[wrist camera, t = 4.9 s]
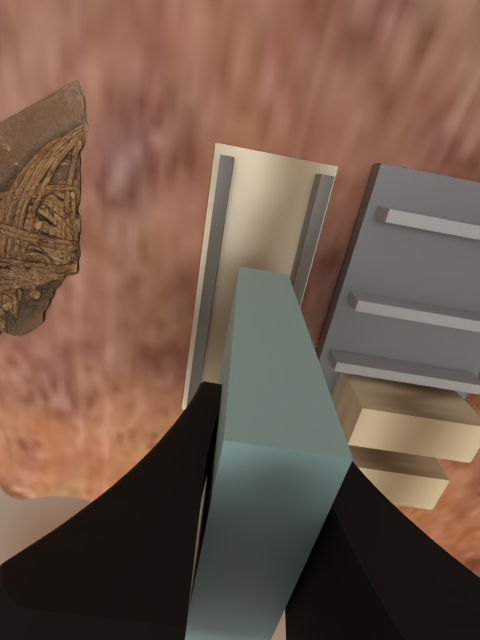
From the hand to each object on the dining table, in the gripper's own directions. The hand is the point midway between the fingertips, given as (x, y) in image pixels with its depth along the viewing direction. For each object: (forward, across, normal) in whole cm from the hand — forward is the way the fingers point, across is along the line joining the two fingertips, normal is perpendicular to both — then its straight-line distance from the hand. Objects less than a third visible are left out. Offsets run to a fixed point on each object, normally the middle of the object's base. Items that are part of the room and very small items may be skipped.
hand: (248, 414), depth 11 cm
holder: (+10, 0, 0) cm, 10 cm away
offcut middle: (+9, -10, +4) cm, 14 cm away
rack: (+10, -10, +1) cm, 14 cm away
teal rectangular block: (+4, 0, 0) cm, 4 cm away
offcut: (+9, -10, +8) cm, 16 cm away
